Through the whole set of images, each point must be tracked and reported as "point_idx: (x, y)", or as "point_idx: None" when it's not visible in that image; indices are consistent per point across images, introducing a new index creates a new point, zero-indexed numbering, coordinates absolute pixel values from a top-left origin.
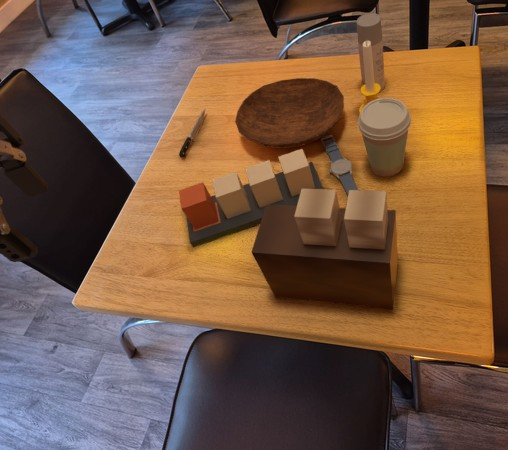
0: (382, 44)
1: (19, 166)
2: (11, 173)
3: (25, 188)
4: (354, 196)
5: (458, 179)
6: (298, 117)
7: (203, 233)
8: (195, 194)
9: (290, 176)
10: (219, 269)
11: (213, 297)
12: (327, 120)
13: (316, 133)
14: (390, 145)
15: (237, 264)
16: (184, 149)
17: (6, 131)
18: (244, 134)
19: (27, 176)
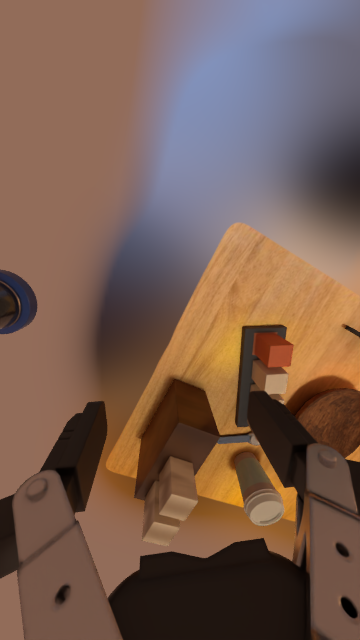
0: None
1: (290, 477)
2: (284, 451)
3: (259, 410)
4: (171, 530)
5: (212, 489)
6: (324, 421)
7: (248, 340)
8: (279, 359)
9: None
10: (212, 344)
11: (190, 337)
12: None
13: None
14: (243, 494)
15: (211, 357)
16: (353, 332)
17: None
18: (328, 394)
19: (270, 451)
